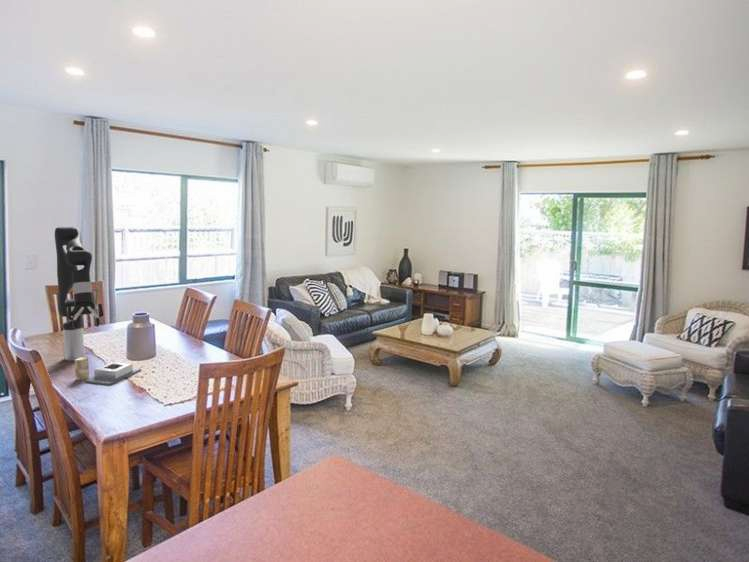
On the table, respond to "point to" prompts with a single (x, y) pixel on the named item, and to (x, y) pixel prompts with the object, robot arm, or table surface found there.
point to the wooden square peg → (81, 368)
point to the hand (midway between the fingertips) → (86, 327)
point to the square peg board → (112, 373)
